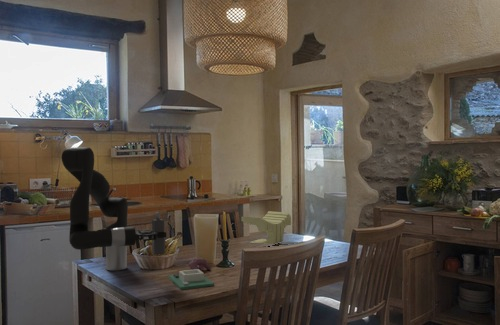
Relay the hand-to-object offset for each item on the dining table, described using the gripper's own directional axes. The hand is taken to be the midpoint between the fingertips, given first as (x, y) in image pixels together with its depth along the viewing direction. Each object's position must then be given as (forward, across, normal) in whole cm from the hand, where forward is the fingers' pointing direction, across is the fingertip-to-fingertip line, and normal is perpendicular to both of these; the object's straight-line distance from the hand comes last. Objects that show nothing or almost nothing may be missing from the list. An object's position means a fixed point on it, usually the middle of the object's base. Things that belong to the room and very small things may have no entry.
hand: (164, 233), depth 199 cm
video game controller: (+19, +12, +21) cm, 31 cm away
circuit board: (+10, -3, +20) cm, 23 cm away
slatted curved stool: (+75, +57, +22) cm, 97 cm away
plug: (-3, 0, +8) cm, 8 cm away
